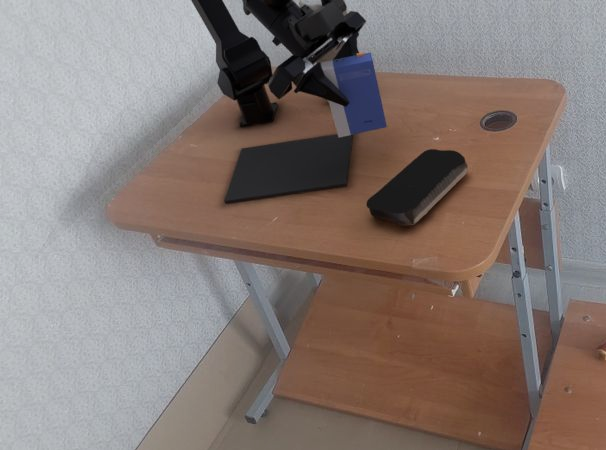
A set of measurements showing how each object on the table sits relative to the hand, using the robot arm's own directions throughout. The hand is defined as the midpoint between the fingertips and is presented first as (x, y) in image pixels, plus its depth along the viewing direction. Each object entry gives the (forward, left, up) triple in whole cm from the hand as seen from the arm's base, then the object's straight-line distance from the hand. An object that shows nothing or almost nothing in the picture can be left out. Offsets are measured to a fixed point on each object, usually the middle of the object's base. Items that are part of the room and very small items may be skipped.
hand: (359, 94), depth 106 cm
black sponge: (+10, +7, -14) cm, 18 cm away
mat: (-3, -15, -13) cm, 20 cm away
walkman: (-1, -1, -7) cm, 7 cm away
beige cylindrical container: (-24, -7, -14) cm, 29 cm away
